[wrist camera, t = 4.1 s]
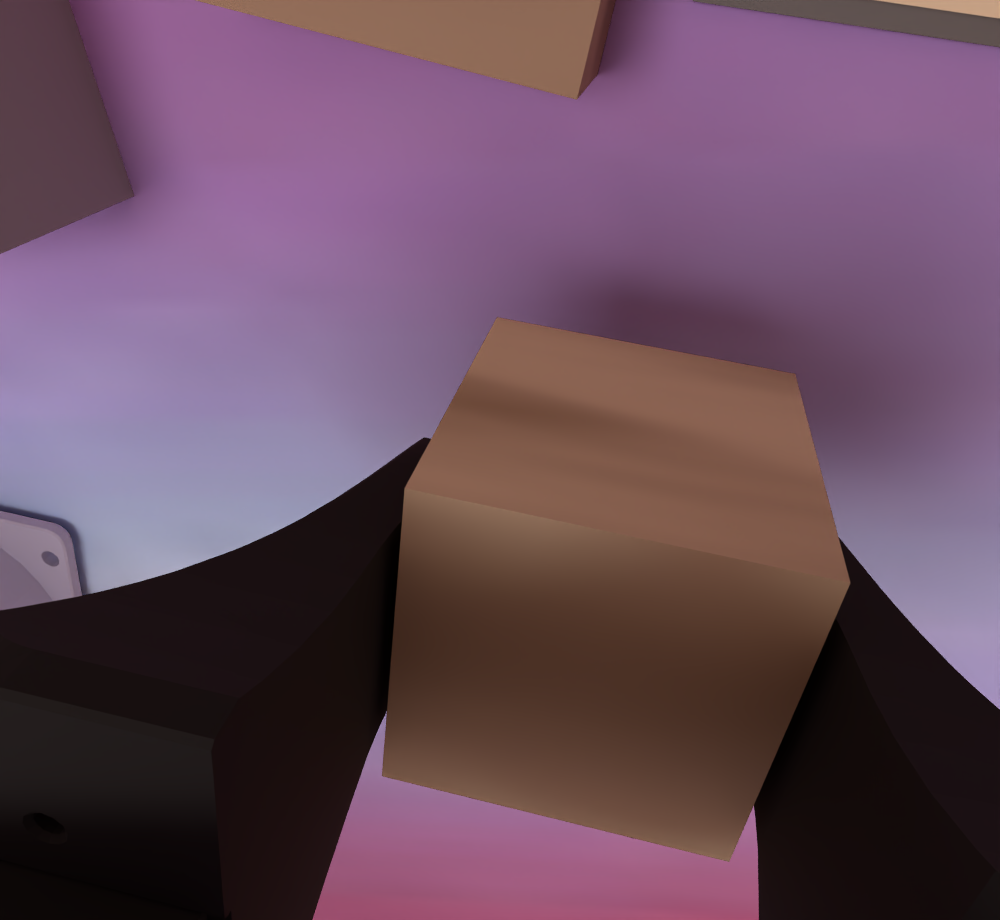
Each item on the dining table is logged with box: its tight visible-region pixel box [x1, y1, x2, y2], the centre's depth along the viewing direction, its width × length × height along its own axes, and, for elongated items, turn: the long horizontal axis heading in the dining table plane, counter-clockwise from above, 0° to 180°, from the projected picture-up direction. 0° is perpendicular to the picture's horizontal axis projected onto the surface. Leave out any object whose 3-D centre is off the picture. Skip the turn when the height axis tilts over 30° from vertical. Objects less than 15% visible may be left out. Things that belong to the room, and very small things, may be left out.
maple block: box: [382, 317, 850, 862], centre depth 12 cm, size 4×4×5 cm
